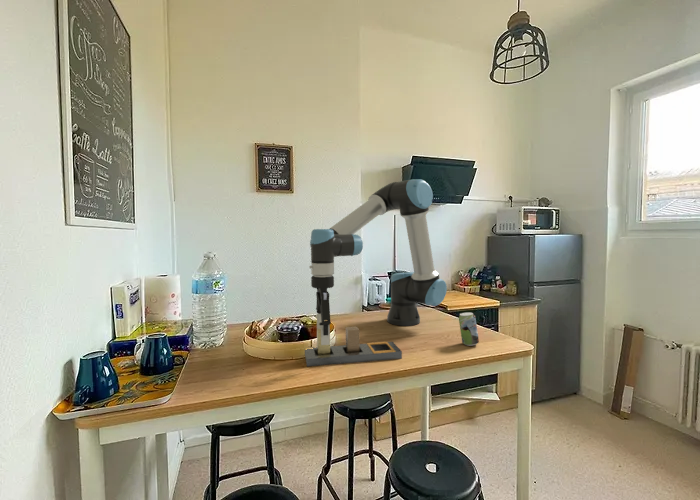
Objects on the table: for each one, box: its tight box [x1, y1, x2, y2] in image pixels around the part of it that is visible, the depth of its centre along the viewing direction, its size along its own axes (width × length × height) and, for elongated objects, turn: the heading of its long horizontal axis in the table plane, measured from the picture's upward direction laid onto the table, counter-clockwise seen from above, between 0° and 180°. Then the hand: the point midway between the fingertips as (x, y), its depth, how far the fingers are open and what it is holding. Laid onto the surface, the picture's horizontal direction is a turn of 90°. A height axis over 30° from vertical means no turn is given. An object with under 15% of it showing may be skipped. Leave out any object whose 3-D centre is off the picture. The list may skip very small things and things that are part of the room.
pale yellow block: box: [316, 328, 331, 356], centre depth 117 cm, size 4×4×10 cm
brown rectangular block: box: [345, 326, 360, 353], centre depth 119 cm, size 4×4×10 cm
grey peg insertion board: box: [304, 341, 403, 367], centre depth 120 cm, size 10×32×3 cm, turn 101°
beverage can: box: [458, 312, 480, 347], centre depth 131 cm, size 6×7×12 cm
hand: (323, 337), depth 117 cm, fingers open, 13 cm apart
